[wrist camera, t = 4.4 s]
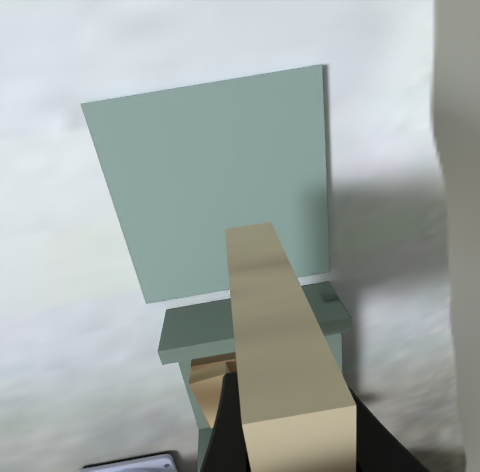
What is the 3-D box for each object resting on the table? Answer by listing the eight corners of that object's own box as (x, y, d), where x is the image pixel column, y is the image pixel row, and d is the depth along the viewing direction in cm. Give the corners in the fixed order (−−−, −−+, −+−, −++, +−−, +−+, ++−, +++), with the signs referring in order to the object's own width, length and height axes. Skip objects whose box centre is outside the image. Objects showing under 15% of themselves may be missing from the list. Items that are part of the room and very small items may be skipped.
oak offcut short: (244, 405, 23) (245, 418, 22) (211, 415, 23) (211, 428, 23) (225, 361, 21) (226, 373, 21) (189, 372, 22) (188, 384, 21)
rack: (333, 404, 27) (352, 450, 23) (201, 428, 27) (200, 478, 23) (328, 281, 22) (350, 317, 18) (166, 309, 22) (157, 351, 18)
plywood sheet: (286, 362, 17) (355, 611, 9) (248, 368, 17) (282, 624, 9) (270, 221, 14) (356, 405, 6) (224, 229, 14) (241, 425, 6)
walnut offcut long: (246, 407, 25) (248, 419, 24) (207, 414, 25) (207, 426, 24) (234, 347, 22) (235, 358, 21) (191, 355, 22) (190, 366, 21)
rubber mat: (328, 268, 21) (330, 271, 21) (147, 300, 21) (146, 303, 21) (319, 65, 16) (322, 64, 16) (83, 103, 16) (80, 103, 16)
